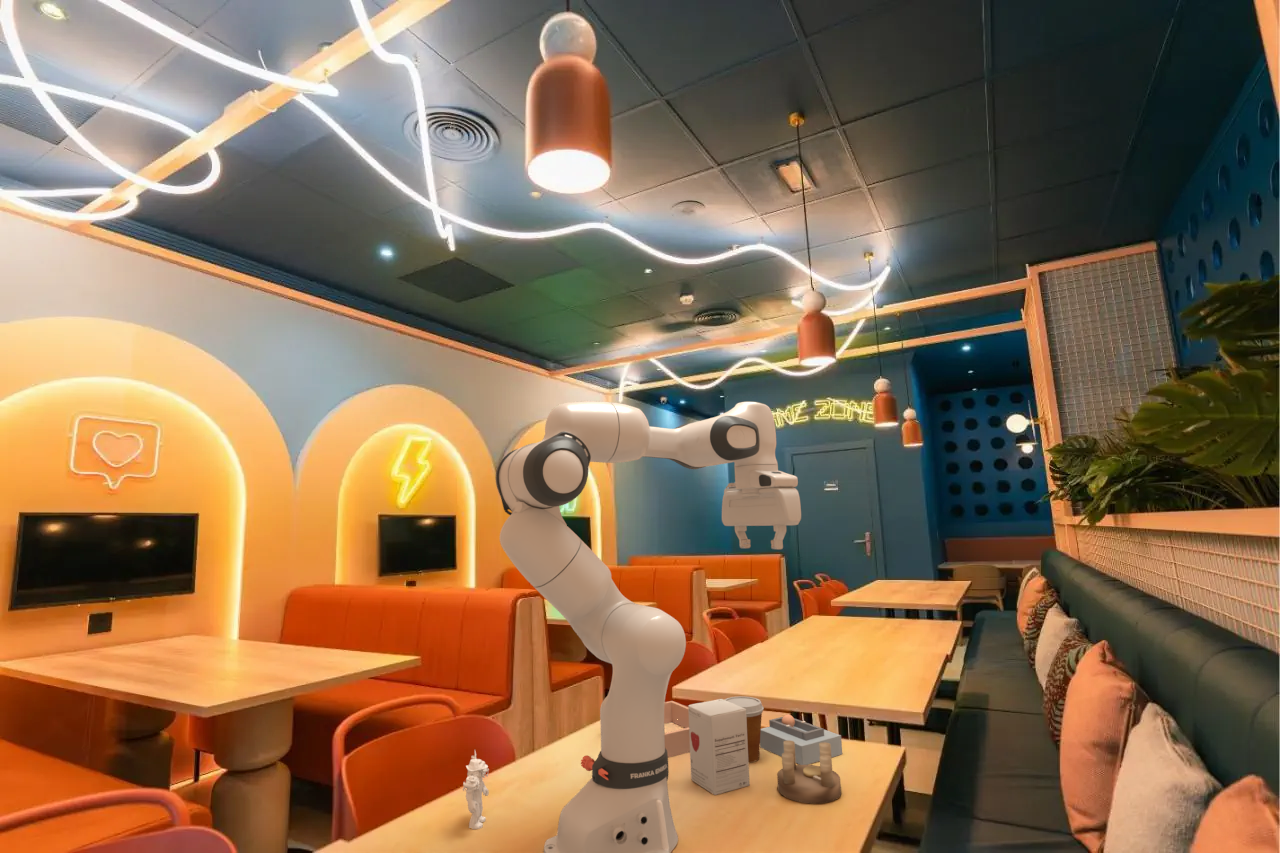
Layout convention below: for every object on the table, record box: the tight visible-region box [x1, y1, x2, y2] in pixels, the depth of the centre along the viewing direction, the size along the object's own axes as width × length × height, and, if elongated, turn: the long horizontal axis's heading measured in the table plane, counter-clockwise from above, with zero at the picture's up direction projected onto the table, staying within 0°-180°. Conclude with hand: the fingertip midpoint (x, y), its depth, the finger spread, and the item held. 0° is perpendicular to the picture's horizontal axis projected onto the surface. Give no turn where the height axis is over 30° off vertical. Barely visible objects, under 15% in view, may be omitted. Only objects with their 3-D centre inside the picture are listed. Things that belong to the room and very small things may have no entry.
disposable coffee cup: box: [724, 695, 764, 763], centre depth 145 cm, size 10×10×12 cm
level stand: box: [760, 716, 843, 765], centre depth 148 cm, size 12×14×6 cm
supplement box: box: [687, 698, 751, 796], centre depth 132 cm, size 9×9×15 cm
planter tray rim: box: [664, 700, 690, 758], centre depth 158 cm, size 21×22×5 cm
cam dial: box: [776, 740, 842, 804], centre depth 126 cm, size 12×12×8 cm
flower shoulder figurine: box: [462, 750, 490, 830], centre depth 117 cm, size 9×4×12 cm, turn 178°
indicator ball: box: [782, 714, 795, 727], centre depth 151 cm, size 3×3×3 cm
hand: (760, 548), depth 130 cm, fingers open, 8 cm apart
